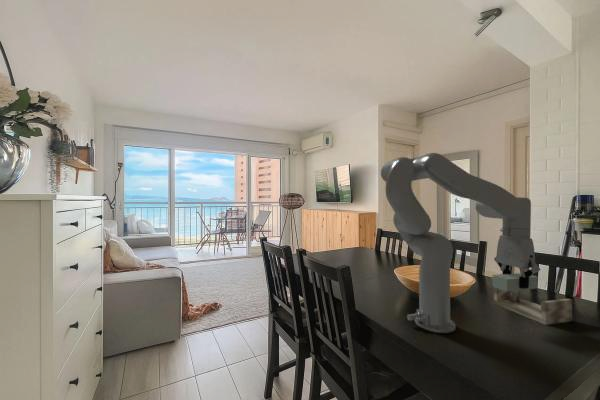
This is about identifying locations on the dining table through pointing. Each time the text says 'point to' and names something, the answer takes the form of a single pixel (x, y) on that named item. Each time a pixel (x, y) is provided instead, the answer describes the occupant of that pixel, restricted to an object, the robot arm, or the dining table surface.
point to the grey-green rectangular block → (512, 282)
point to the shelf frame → (535, 307)
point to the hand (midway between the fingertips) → (515, 284)
